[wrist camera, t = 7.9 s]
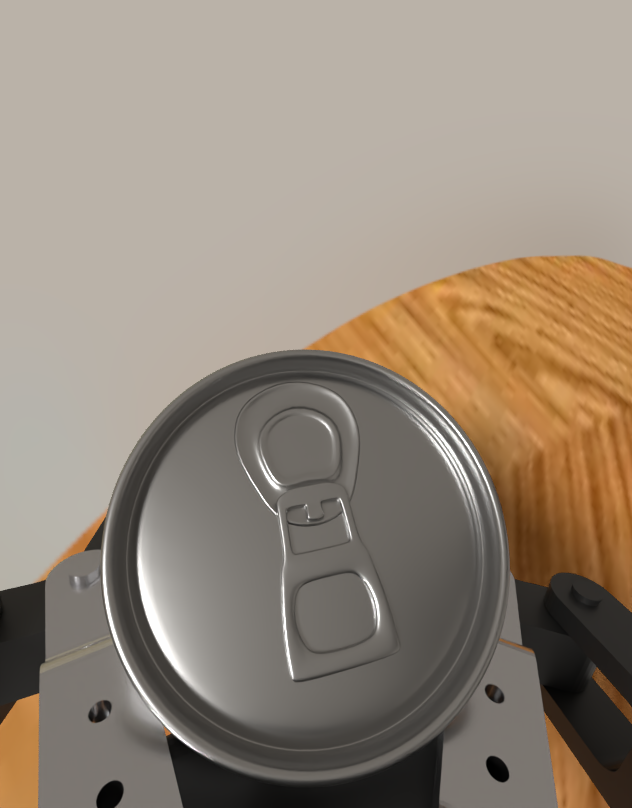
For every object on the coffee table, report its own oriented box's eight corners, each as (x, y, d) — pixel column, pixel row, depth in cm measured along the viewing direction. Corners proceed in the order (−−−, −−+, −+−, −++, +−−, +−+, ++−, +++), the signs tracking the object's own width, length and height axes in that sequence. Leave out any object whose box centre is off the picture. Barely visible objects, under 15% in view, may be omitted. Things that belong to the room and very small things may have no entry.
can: (335, 469, 18) (448, 309, 7) (373, 625, 16) (626, 732, 5) (191, 497, 17) (65, 350, 6) (208, 671, 14) (50, 960, 4)
